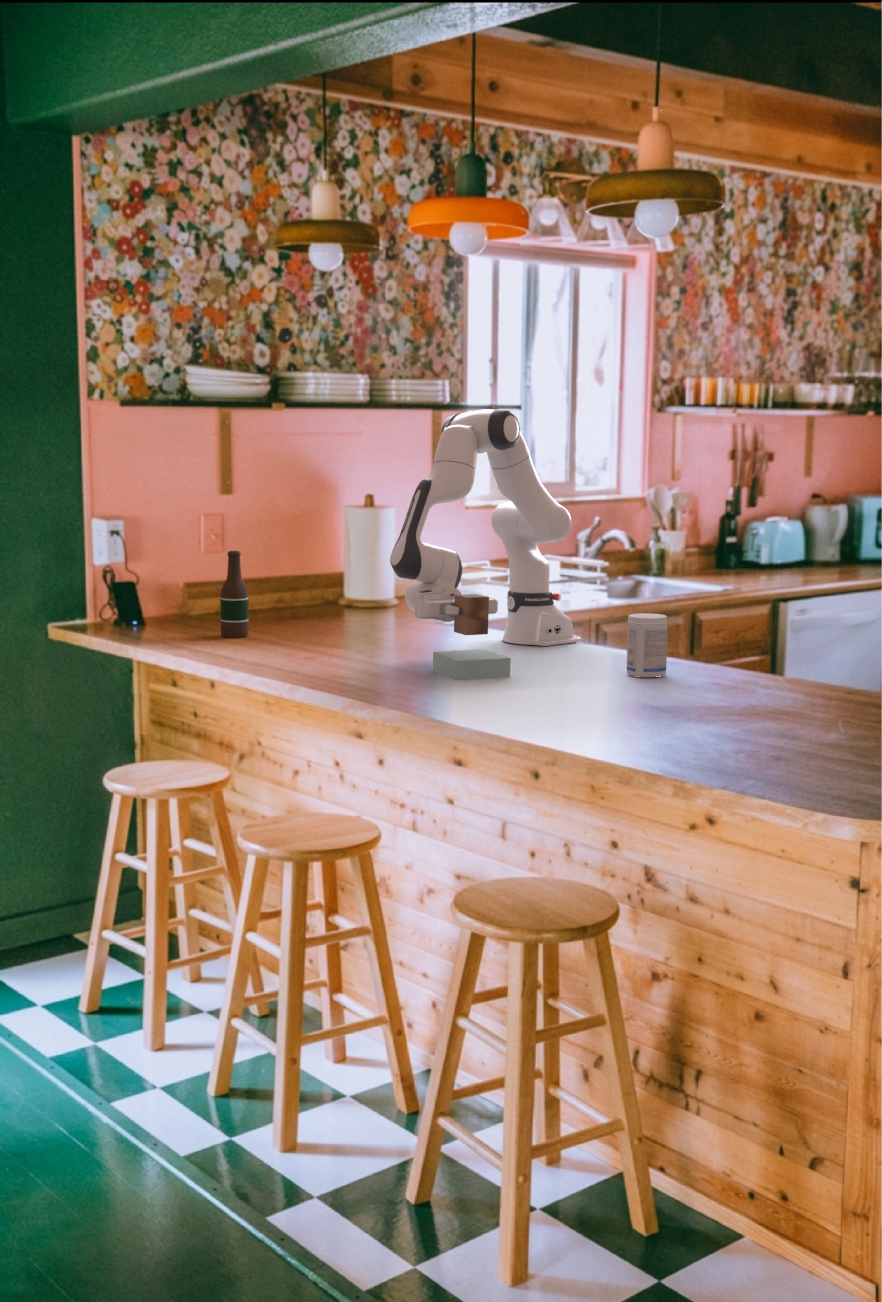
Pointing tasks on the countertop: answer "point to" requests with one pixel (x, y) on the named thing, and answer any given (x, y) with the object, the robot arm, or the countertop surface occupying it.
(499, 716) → the countertop surface
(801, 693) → the countertop surface
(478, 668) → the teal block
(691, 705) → the countertop surface
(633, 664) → the supplement tub
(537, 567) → the robot arm
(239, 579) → the beer bottle
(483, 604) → the walnut box
